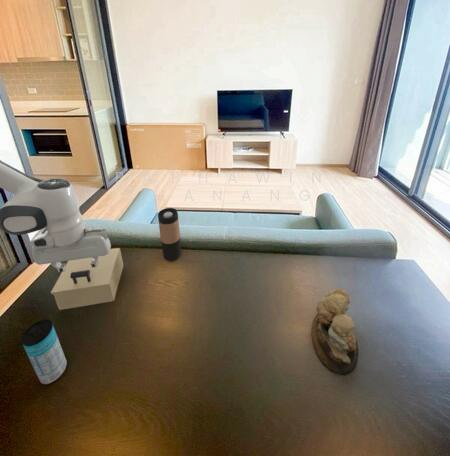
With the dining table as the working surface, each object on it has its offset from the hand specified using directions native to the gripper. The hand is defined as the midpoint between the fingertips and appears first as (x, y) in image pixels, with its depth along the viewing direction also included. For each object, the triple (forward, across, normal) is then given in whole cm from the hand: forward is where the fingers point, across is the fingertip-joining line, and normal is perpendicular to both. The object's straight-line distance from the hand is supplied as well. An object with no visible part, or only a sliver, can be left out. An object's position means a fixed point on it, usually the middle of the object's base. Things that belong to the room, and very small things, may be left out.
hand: (79, 268), depth 76 cm
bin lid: (+6, 0, -6) cm, 9 cm away
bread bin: (+14, 0, -6) cm, 16 cm away
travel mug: (+15, -27, -16) cm, 35 cm away
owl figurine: (+15, -72, +27) cm, 78 cm away
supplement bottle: (+14, +2, +20) cm, 24 cm away
